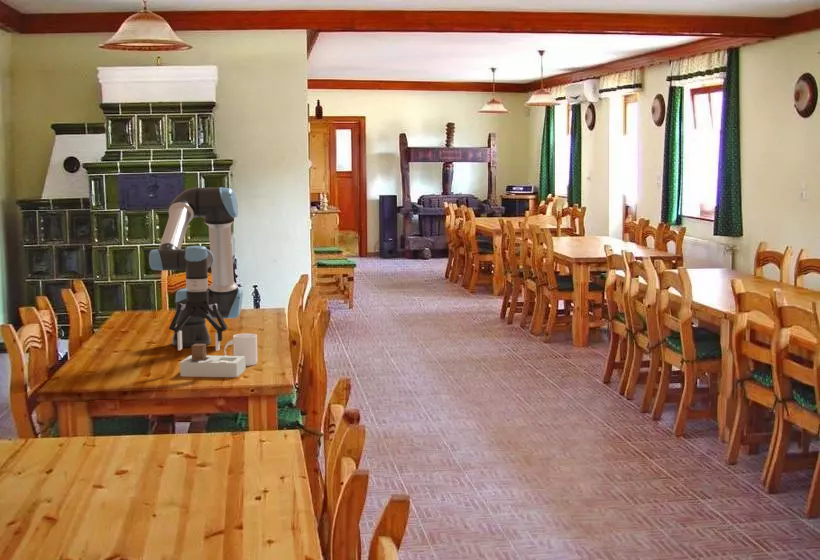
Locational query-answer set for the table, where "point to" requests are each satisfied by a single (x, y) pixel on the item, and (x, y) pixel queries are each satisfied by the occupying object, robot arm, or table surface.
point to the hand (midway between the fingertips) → (198, 350)
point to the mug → (245, 347)
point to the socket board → (213, 366)
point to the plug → (199, 352)
